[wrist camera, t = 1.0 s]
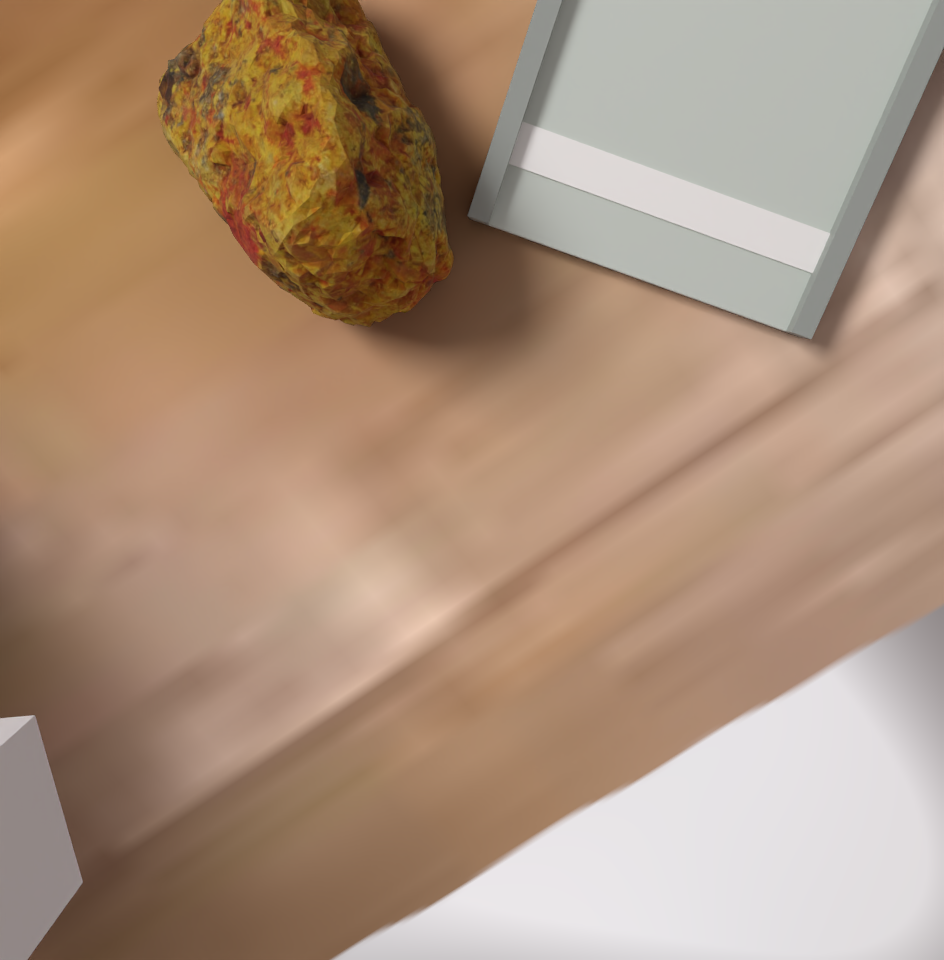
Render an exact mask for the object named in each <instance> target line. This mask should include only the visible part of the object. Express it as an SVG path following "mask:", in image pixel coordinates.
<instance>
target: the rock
mask: <svg viewBox="0 0 944 960" xmlns="http://www.w3.org/2000/svg"><path fill="white" fill-rule="evenodd" d="M159 85H160V86H159V94H158V98H157V100H158V102H157V106H158V115H159V118H160V121H161V125H162V129H163V133H164V135H165V137H166V139H167V141H168V143H169V145H170V146H171V148H172V150H173V151H174V153H175V154H176V155H177V156H178V157H179V158H180V159H181V160H182V161H183V163H184V164H185V165H186V166H187V168H188V170H189V173H190V175H192V176H193V177H194V178H195V179H197V180H198V183H199V186H200V188H201V189H202V191H203V192H204V193H205V195H206V196H207V197H208V199H209V200H210V201H211V202H213V208H214V209H215V211H216V212H217V213H218V215H219V216H220V217H221V218H222V219H223V220H224V221H225V222H226V223H227V224H228V225H229V227H230V229H231V231H232V233H233V235H234V237H235V238H236V240H237V241H238V242H239V244H240V245H241V247H242V248H243V249H244V251H245V252H246V254H247V255H248V256H249V258H250V259H251V260H252V262H253V263H254V264H255V265H256V266H257V267H258V268H259V269H260V270H261V271H263V272H264V273H265V274H266V275H267V276H268V277H269V278H270V279H271V280H273V281H274V282H275V283H276V284H277V285H278V286H279V287H280V288H281V289H283V290H285V291H287V292H289V293H291V294H292V295H293V296H295V297H296V298H298V299H299V300H301V301H303V302H304V303H305V304H307V305H308V306H309V307H311V310H312V312H313V313H314V314H317V315H319V316H321V317H325V318H329V319H334V320H338V319H340V320H341V321H343V322H344V323H347V324H351V325H355V324H359V325H364V326H367V327H370V326H371V325H372V323H373V322H374V321H377V322H381V321H383V320H384V319H387V318H388V317H389V316H391V315H392V314H394V313H397V312H404V313H406V312H408V311H410V310H411V309H412V308H413V307H414V306H415V305H416V304H417V303H418V302H419V300H420V299H421V298H423V297H424V296H425V295H426V294H427V293H428V292H429V291H430V290H431V287H432V286H433V283H435V282H438V281H441V280H444V279H446V278H447V276H448V275H449V274H450V271H451V268H452V265H453V260H454V257H453V253H452V250H451V247H450V245H449V243H448V238H447V231H446V218H445V214H444V197H443V194H442V191H441V176H440V173H439V169H438V166H437V164H436V152H437V150H436V145H435V139H434V137H433V134H432V131H431V128H430V127H429V126H428V124H427V123H426V121H425V119H424V116H423V114H422V112H421V111H420V110H419V108H417V107H416V106H414V105H411V104H410V102H409V100H408V98H407V97H406V94H405V92H404V89H403V87H402V84H401V81H400V79H399V76H398V74H397V73H396V71H395V70H394V68H393V67H392V66H391V64H390V62H389V59H388V57H387V56H386V54H385V53H384V50H383V48H382V46H381V42H380V40H379V37H378V35H377V32H376V30H375V28H374V26H373V24H372V22H370V21H368V20H366V17H365V14H364V12H363V10H362V8H361V6H360V4H359V2H358V0H222V2H221V3H220V4H219V5H218V6H217V7H216V8H215V10H214V11H213V13H212V14H211V16H210V17H209V18H208V19H207V20H206V22H205V23H204V26H203V29H202V33H201V34H200V35H199V36H198V37H197V39H196V40H195V41H194V42H193V43H191V44H189V45H187V46H186V47H185V48H184V49H183V50H182V51H181V52H180V53H179V54H178V55H177V57H176V58H175V59H173V60H168V70H167V71H166V72H165V73H164V74H163V76H162V77H161V78H160V80H159Z"/></svg>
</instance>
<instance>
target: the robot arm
mask: <svg viewBox="0 0 944 960" xmlns="http://www.w3.org/2000/svg"><path fill="white" fill-rule="evenodd" d="M82 883H83V881H82V877H81V874H80V870H79V867H78V863H77V860H76V856H75V853H74V849H73V846H72V842H71V839H70V835H69V832H68V828H67V825H66V821H65V818H64V814H63V811H62V807H61V804H60V800H59V797H58V793H57V790H56V787H55V783H54V780H53V776H52V773H51V769H50V766H49V762H48V759H47V755H46V752H45V748H44V745H43V741H42V738H41V734H40V731H39V727H38V724H37V720H36V717H35V715H31V716H20V717H9V718H0V960H28V958H29V957H30V955H31V954H32V953H33V951H34V950H35V948H36V947H37V946H38V944H39V943H40V941H41V940H42V939H43V937H44V936H45V934H46V933H47V932H48V930H49V929H50V928H51V926H52V925H53V923H54V922H55V921H56V919H57V918H58V916H59V915H60V914H61V912H62V911H63V909H64V908H65V907H66V905H67V904H68V902H69V901H70V900H71V898H72V897H73V895H74V894H75V893H76V891H77V890H78V889H79V887H80V886H81V884H82Z"/></svg>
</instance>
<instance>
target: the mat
mask: <svg viewBox="0 0 944 960" xmlns="http://www.w3.org/2000/svg"><path fill="white" fill-rule="evenodd" d="M943 48H944V0H537V4H536V7H535V10H534V13H533V16H532V19H531V22H530V25H529V28H528V31H527V34H526V37H525V40H524V44H523V47H522V50H521V53H520V56H519V59H518V62H517V65H516V68H515V71H514V74H513V77H512V80H511V84H510V87H509V90H508V93H507V96H506V99H505V102H504V105H503V108H502V111H501V114H500V117H499V120H498V124H497V127H496V130H495V133H494V136H493V139H492V142H491V145H490V148H489V151H488V154H487V157H486V160H485V164H484V167H483V170H482V173H481V176H480V179H479V182H478V185H477V188H476V191H475V194H474V197H473V200H472V204H471V207H470V210H469V213H468V217H469V219H471V220H474V221H477V222H480V223H483V224H485V225H488V226H491V227H494V228H497V229H499V230H502V231H505V232H508V233H510V234H513V235H516V236H519V237H522V238H524V239H527V240H530V241H533V242H536V243H538V244H541V245H544V246H547V247H550V248H552V249H555V250H558V251H561V252H563V253H566V254H569V255H572V256H575V257H577V258H580V259H583V260H586V261H589V262H591V263H594V264H597V265H600V266H602V267H605V268H608V269H611V270H614V271H616V272H619V273H622V274H625V275H628V276H630V277H633V278H636V279H639V280H642V281H644V282H647V283H650V284H653V285H655V286H658V287H661V288H664V289H667V290H669V291H672V292H675V293H678V294H681V295H683V296H686V297H689V298H692V299H694V300H697V301H700V302H703V303H706V304H708V305H711V306H714V307H717V308H720V309H722V310H725V311H728V312H731V313H734V314H736V315H739V316H742V317H745V318H747V319H750V320H753V321H756V322H759V323H761V324H764V325H767V326H770V327H773V328H775V329H778V330H781V331H784V332H786V333H789V334H792V335H795V336H798V337H801V338H807V339H812V337H813V335H814V333H815V331H816V328H817V326H818V324H819V322H820V320H821V317H822V315H823V313H824V311H825V309H826V306H827V304H828V302H829V300H830V297H831V295H832V293H833V291H834V289H835V286H836V284H837V282H838V280H839V278H840V275H841V273H842V271H843V269H844V267H845V264H846V262H847V260H848V258H849V255H850V253H851V251H852V249H853V247H854V244H855V242H856V240H857V238H858V236H859V233H860V231H861V229H862V227H863V225H864V222H865V220H866V218H867V216H868V214H869V211H870V209H871V207H872V205H873V202H874V200H875V198H876V196H877V194H878V191H879V189H880V187H881V185H882V183H883V180H884V178H885V176H886V174H887V172H888V169H889V167H890V165H891V163H892V160H893V158H894V156H895V154H896V152H897V149H898V147H899V145H900V143H901V141H902V138H903V136H904V134H905V132H906V130H907V127H908V125H909V123H910V121H911V119H912V116H913V114H914V112H915V110H916V107H917V105H918V103H919V101H920V99H921V96H922V94H923V92H924V90H925V88H926V85H927V83H928V81H929V79H930V77H931V74H932V72H933V70H934V68H935V66H936V63H937V61H938V59H939V57H940V54H941V52H942V50H943Z"/></svg>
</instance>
